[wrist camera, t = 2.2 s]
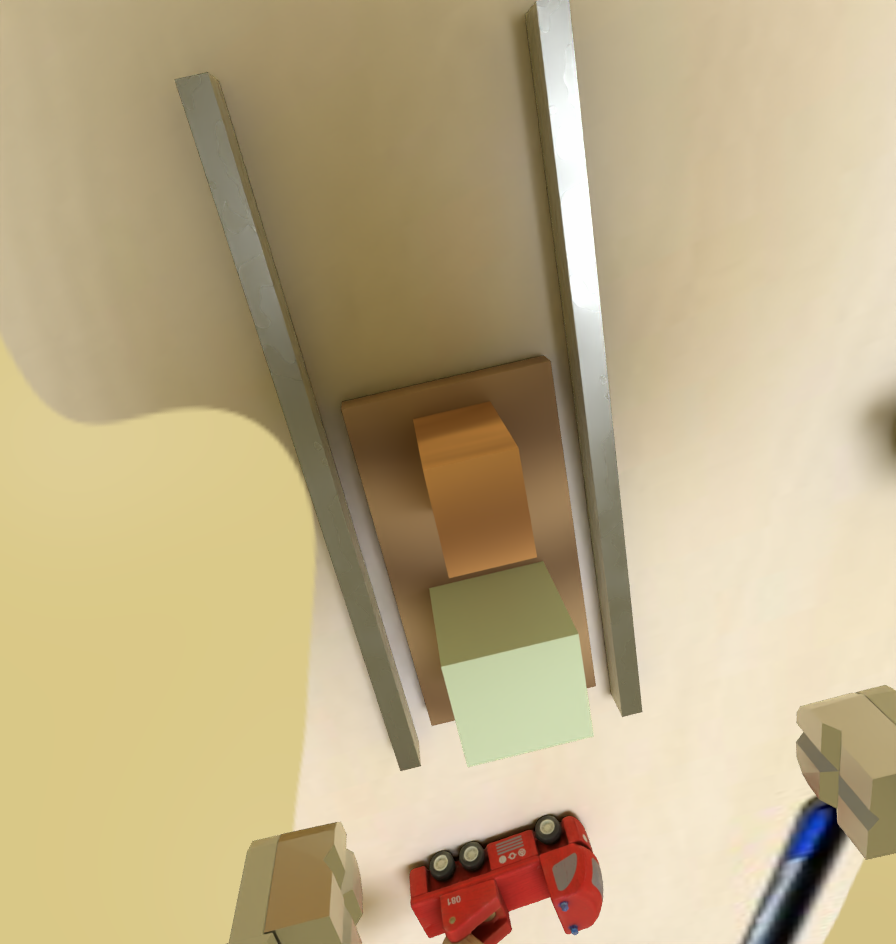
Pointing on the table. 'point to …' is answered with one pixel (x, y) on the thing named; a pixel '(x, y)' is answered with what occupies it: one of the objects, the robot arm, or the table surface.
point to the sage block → (510, 663)
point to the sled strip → (419, 523)
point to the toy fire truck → (509, 883)
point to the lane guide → (583, 339)
